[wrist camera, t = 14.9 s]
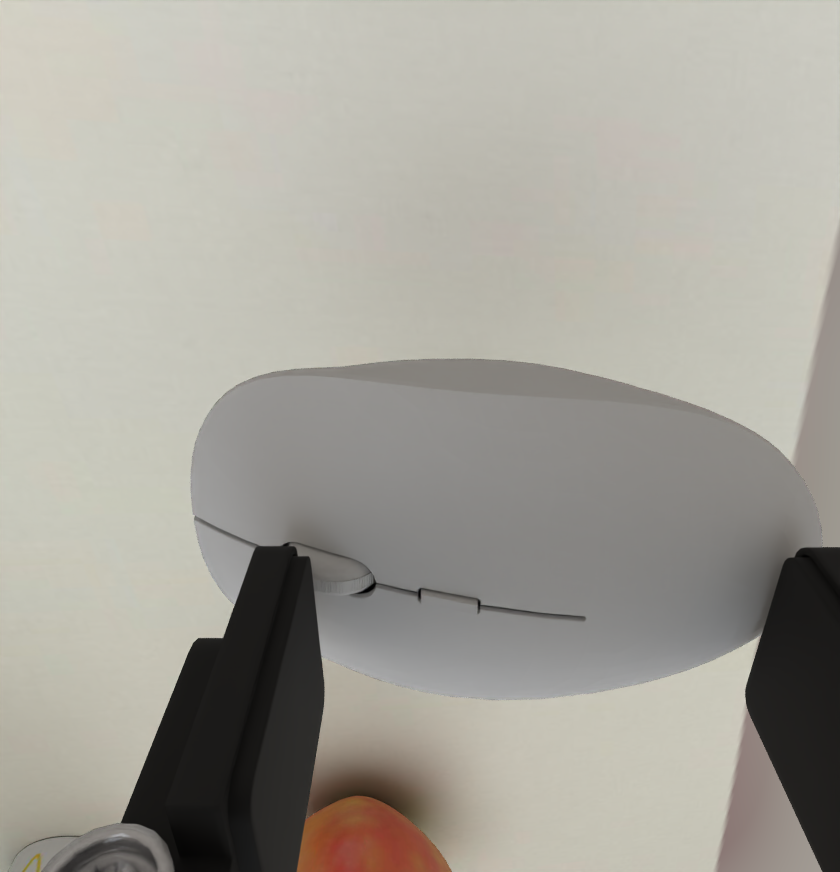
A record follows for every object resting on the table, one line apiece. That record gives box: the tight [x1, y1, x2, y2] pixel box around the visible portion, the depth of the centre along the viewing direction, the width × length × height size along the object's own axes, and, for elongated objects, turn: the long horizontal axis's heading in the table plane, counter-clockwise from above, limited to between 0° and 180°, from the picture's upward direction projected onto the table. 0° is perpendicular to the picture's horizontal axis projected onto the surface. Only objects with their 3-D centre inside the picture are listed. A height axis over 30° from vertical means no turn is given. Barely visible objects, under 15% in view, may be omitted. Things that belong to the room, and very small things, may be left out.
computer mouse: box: [191, 359, 822, 700], centre depth 11 cm, size 6×10×3 cm, turn 88°
